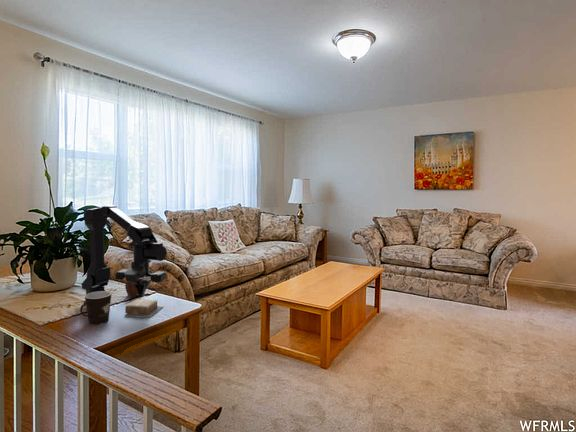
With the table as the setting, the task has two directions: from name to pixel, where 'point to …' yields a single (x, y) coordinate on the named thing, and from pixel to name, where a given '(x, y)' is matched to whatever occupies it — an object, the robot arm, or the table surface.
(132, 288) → the wooden figurine
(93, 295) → the coffee mug
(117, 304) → the table surface
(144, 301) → the wooden block
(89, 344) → the table surface
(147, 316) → the rubber mat
